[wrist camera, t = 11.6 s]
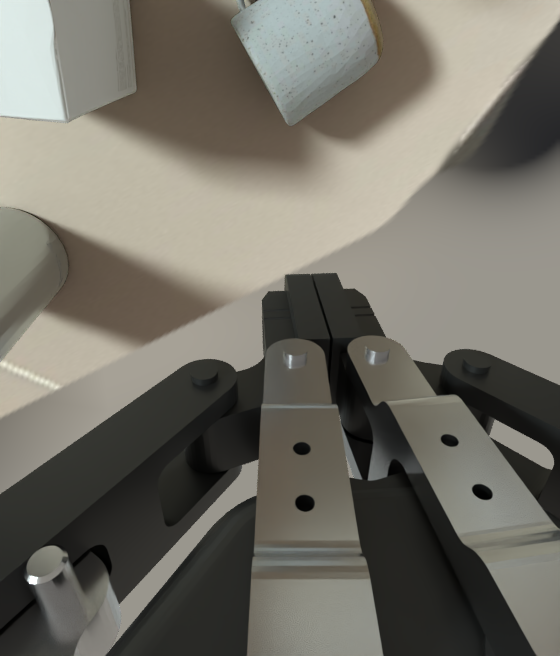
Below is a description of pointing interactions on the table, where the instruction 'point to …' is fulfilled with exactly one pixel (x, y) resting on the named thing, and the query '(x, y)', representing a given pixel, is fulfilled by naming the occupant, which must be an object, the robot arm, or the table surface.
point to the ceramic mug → (308, 48)
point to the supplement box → (64, 57)
